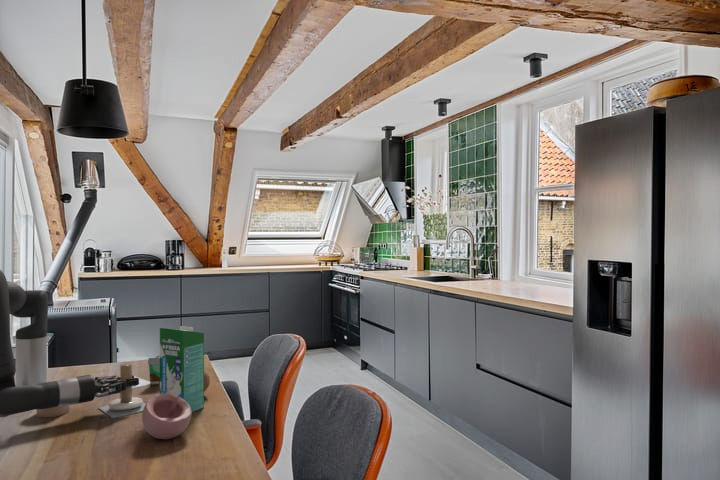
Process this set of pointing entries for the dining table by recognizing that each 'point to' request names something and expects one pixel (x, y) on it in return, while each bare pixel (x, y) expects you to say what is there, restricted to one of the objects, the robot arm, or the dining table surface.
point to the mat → (121, 411)
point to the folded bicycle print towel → (141, 384)
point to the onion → (206, 380)
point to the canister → (52, 411)
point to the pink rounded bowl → (166, 416)
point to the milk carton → (182, 365)
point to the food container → (154, 371)
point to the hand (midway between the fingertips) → (135, 379)
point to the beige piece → (126, 392)
